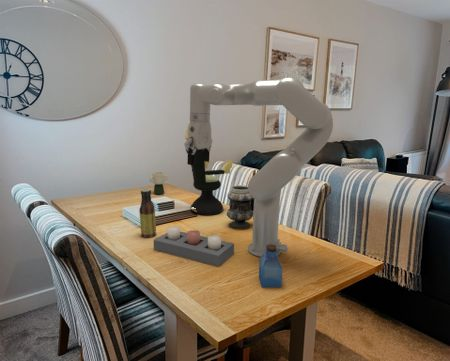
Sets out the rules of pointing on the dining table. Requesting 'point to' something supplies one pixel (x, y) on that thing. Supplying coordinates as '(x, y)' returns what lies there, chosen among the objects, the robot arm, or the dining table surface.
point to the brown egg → (193, 237)
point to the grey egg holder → (194, 249)
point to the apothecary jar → (239, 207)
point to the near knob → (214, 242)
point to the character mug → (158, 182)
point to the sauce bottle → (147, 214)
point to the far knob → (173, 233)
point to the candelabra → (206, 184)
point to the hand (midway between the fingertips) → (198, 163)
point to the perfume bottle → (270, 268)
